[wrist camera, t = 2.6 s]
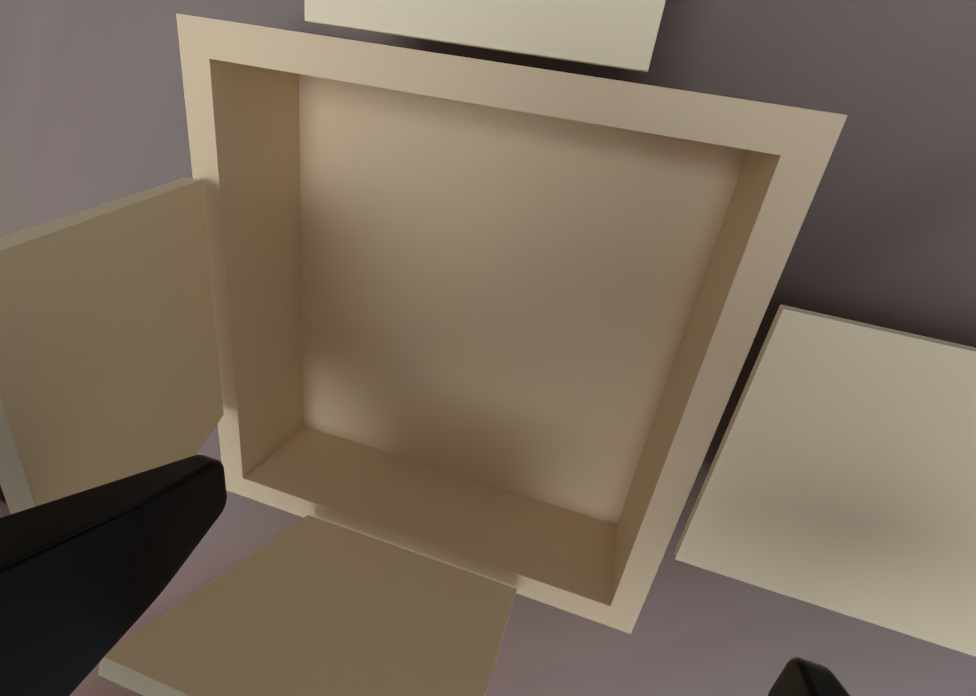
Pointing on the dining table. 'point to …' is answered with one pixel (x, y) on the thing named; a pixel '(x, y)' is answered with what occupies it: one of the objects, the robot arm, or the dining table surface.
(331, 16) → the carton
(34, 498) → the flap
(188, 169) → the dining table surface
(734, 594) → the dining table surface
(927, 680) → the dining table surface
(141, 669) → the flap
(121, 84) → the dining table surface
